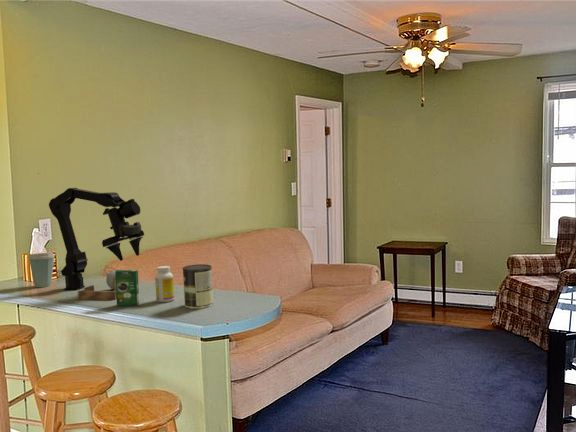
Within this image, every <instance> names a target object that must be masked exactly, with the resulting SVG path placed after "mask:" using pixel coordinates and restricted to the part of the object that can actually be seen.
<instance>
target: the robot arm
mask: <svg viewBox="0 0 576 432" xmlns="http://www.w3.org/2000/svg"><path fill="white" fill-rule="evenodd" d="M76 199H79V200H83V201H88V202H89V201H90V202H94V203H96V204H98V205H99V206H102V207H104V211H103V213H102V215H104V216H105V215H107V216H108V218H109V221H110V225H111V226H110V227H109V228H110V230H112V231H113V233H114V236H110V237H108V238H105V239H103V240H102V241H101V245H102V247H103V248H105V249H107V250H109V251H110V252H111V253H112V254H113V255H114V256H116V258H117V259H118V260H119V261H120V262H122V261H124V257H123V253H122V251H121V248H120V246H121V242H123V241H126V240H129V241H128V243H129V244H130V246H131V248H132V251H133V252H134V253H135V255H136V256H138V257H139V255H140V242H141V240H142V239H143V236H145V232H144V230H142V225H141V223H140V222H139V221H137V222H134V223H133V224H130V223H129V221H126V219H129V218H132V217H135V216H138V215H140V214H141V207H140V205H139V204H138V203H137V201H135V198H130V199H129V200H125V199H123V198H122V197H120V195H119V193H118V192H113V191H112V192H99V191H98V192H97V191H92V190H87V189H81V188H78V187H69V188H67V189H66V190H64V191H63V192H62V193H59V194H58V195H57V196H55V197H54V198H51V199H50V201H49V203H48V207H49V210H50V212H51V214H52V216H54V217H55V218H56V220H57V222H58V226H59V230H60V233H61V237H62V240H63V243H64V247H65V251H66V255H65V259H64V260H65V266H64V267H63V268H62V269H61V270H60V272H61V276H62V277H64V282H65V287H63V290H65V291H66V290H67V291H68V290H69V291H77V290H78V291H79V290H81V289H83V288H86V285H84V277H83V273H85V270H86V267H87V266H88V261H89V259H88V258H87V255H86V251H81V250H80V249H79V246H78V242H77V238H76V234H75V231H74V228H73V225H72V224H73V223H72V220H71V211H72V206H71V205H72V204H73V203H74V202H75V201H76ZM110 207H111V208H110Z"/></svg>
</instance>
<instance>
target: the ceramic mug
mask: <svg viewBox="0 0 576 432" xmlns="http://www.w3.org/2000/svg"><path fill="white" fill-rule="evenodd" d="M115 271H116V270H112V271H110V272H108V274H107V276H106V279H105V280H106V281H105V282H106V285H107V286H108V288H110V289H112V290H113V291H114V290H116V277H115Z"/></svg>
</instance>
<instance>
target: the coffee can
mask: <svg viewBox="0 0 576 432" xmlns="http://www.w3.org/2000/svg"><path fill="white" fill-rule="evenodd" d="M182 275H183V277H182V278H183V279H182V280H183V293H184V294H183V295H184V297H183V298H184V307H185V308H187V309H189V310H190V309H191V310H198V309H206V308H210V307H212V306H214V300H213V299H214V298H213V297H214V296H213V276H212V275H213V274H212V265H210V264H205V263H203V264H200V263H199V264H189V265H185V266H182Z"/></svg>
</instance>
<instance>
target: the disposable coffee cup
mask: <svg viewBox="0 0 576 432" xmlns="http://www.w3.org/2000/svg"><path fill="white" fill-rule="evenodd" d="M55 257H56V256H55V254H54V252H37V253H30V254H29V256H28V260H29V265H30V269H31V275H32V279H33V285H34V287H35V288H47V286H48V287H50V286H51V284H52V281H53V280H52V279H53V272H54V270H53V269H54V264H55V263H54V262H55Z"/></svg>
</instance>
